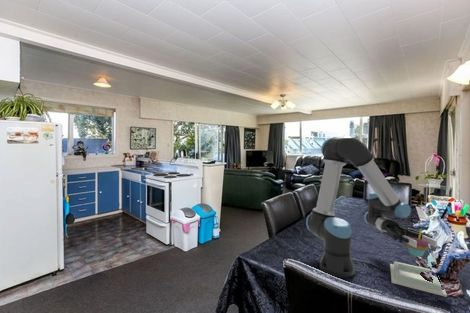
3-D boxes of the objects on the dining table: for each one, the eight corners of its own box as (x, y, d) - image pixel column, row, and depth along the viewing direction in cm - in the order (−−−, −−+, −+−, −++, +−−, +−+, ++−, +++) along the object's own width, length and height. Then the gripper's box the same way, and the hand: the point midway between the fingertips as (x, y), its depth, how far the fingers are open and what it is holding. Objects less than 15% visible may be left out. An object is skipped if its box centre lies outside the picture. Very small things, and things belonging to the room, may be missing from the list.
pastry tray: (391, 282, 101) (392, 275, 101) (390, 265, 116) (390, 259, 116) (447, 297, 91) (447, 289, 91) (437, 275, 107) (437, 269, 106)
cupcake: (417, 250, 108) (418, 224, 107) (433, 258, 99) (435, 231, 99) (399, 250, 107) (400, 224, 107) (414, 259, 99) (415, 231, 98)
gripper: (406, 233, 122) (449, 252, 99) (367, 233, 120) (401, 253, 98) (407, 218, 121) (449, 235, 99) (368, 219, 120) (402, 235, 98)
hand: (426, 244), depth 98 cm, fingers closed on cupcake, 8 cm apart
